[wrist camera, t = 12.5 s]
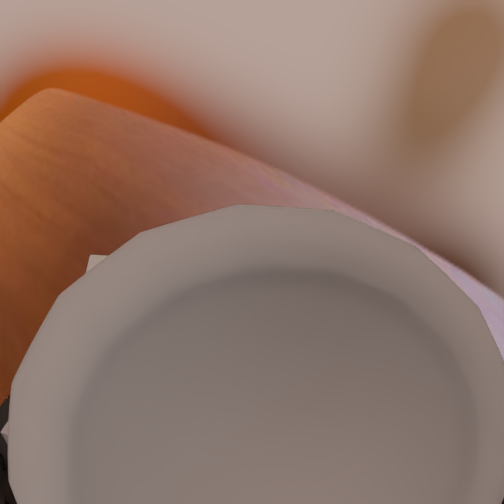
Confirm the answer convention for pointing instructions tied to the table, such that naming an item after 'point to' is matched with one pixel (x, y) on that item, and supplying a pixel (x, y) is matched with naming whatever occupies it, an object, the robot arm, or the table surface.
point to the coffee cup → (260, 372)
